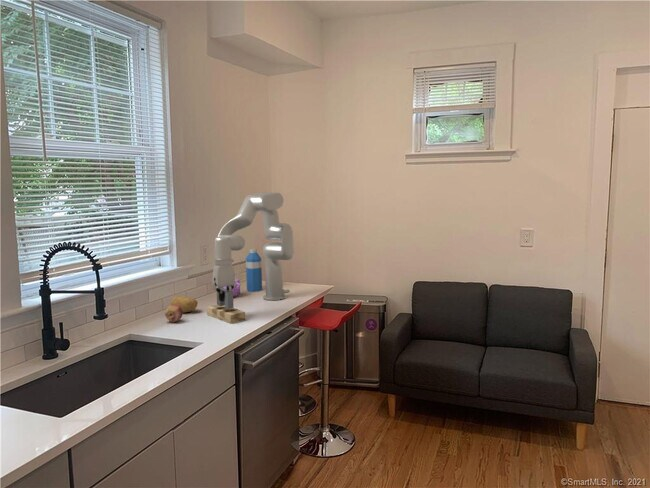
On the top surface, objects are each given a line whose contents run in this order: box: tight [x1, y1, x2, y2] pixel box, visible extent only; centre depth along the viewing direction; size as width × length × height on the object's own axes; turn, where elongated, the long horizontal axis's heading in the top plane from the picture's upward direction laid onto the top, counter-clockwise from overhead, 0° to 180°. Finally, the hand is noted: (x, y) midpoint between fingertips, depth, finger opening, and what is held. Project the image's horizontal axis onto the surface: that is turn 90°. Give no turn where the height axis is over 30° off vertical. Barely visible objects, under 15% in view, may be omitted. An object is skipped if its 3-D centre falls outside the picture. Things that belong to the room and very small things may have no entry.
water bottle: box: [245, 248, 263, 293], centre depth 299 cm, size 9×9×25 cm
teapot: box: [216, 277, 241, 298], centre depth 282 cm, size 15×13×11 cm
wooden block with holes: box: [206, 304, 246, 324], centre depth 238 cm, size 8×22×4 cm, turn 42°
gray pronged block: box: [216, 289, 235, 309], centre depth 237 cm, size 10×3×8 cm, turn 42°
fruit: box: [164, 304, 183, 323], centre depth 232 cm, size 8×8×8 cm
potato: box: [170, 295, 198, 314], centre depth 250 cm, size 10×14×8 cm
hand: (224, 300), depth 237 cm, fingers closed on gray pronged block, 3 cm apart
